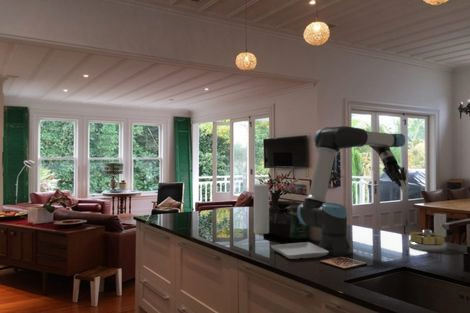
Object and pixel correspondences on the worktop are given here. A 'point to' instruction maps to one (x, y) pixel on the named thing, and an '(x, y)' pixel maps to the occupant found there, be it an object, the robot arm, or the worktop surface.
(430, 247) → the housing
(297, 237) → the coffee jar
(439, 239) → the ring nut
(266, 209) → the cylinder container
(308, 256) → the salad plate
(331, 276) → the worktop surface
